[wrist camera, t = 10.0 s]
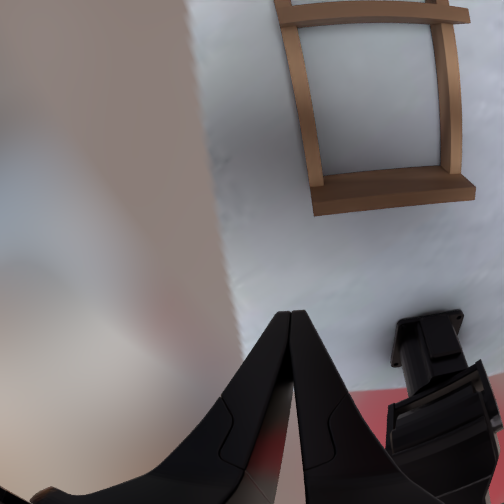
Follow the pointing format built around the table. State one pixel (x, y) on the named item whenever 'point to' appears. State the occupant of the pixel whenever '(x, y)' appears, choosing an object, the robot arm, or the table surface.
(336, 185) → the slot rack
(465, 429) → the robot arm
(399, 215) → the table surface
